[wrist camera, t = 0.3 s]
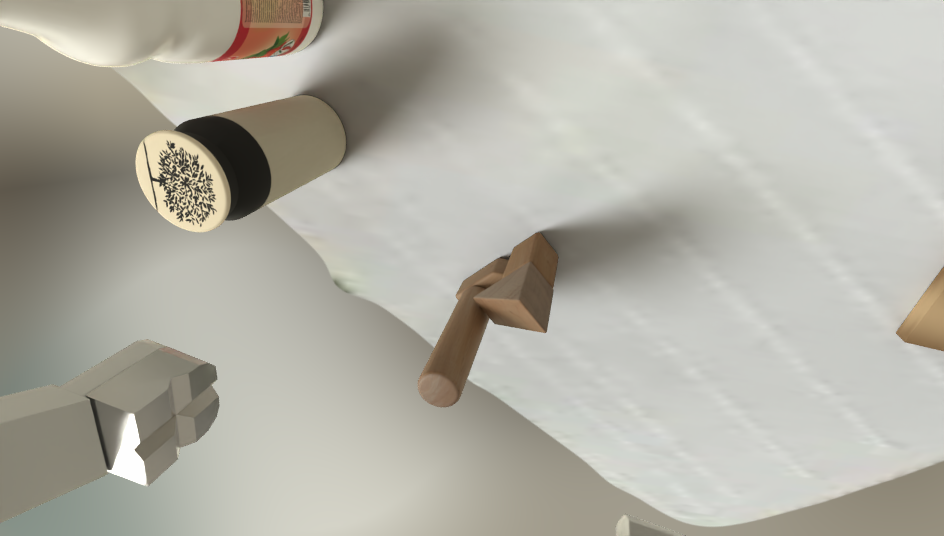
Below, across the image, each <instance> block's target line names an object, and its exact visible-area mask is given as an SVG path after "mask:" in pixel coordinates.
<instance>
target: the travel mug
mask: <svg viewBox="0 0 944 536" xmlns="http://www.w3.org/2000/svg"><path fill="white" fill-rule="evenodd" d="M345 149H346V136H345V131H344V128H343V125H342V123H341V121H340V119H339V117H338V116H337V114H336V113H335V112H334V110H333V109H332V108H331V107H330V106H329V105H327V104H326V103H325V102H323V101H322V100H320V99H318V98H315V97H312V96H308V95H299V96H294V97H290V98H285V99H281V100H276V101H272V102H267V103H263V104H259V105H254V106H250V107H245V108H241V109H236V110H232V111H227V112H223V113H219V114H214V115H210V116H205V117H201V118H196V119H192V120H188V121H185V122H183V123H182V124H180V125H179V126H178V127H176V129H175V130H174V131H172V130H161V131H157V132H154V133H152V134H150V135H148V136H147V137H146V138H145V139H144V140H143V141H142V142H141V144H140V146H139V148H138V150H137V154H136V172H137V176H138V180H139V183H140V185H141V188H142V190H143V192H144V194H145V195H146V197H147V199H148V200H149V202H150V203H151V204H152V206H153V207H154V208H155V209H156V210H157V211H158V212H159V213H160V214H161V215H162V216H163V217H164V218H166V219H167V220H168V221H170V222H171V223H173V224H174V225H176V226H178V227H180V228H183V229H185V230H189V231H193V232H207V231H211V230H213V229H215V228H217V227H218V226H220V225H221V224H222V223H223V222H224V220H237V219H240V218H243V217H245V216H247V215H249V214H250V213H252V212H254V211H256V210H258V209H260V208H262V207H264V206H265V205H267V204H269V203H271V202H273V201H275V200H277V199H278V198H280V197H282V196H284V195H286V194H288V193H290V192H292V191H293V190H295V189H297V188H299V187H301V186H303V185H305V184H306V183H308V182H310V181H312V180H314V179H316V178H318V177H320V176H321V175H323V174H325V173H327V172H329V171H331V170H332V169H334V168H335V167H336V166H337V165H338V164H339V163H340V162H341V160H342V159H343V156H344V153H345Z"/></svg>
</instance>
